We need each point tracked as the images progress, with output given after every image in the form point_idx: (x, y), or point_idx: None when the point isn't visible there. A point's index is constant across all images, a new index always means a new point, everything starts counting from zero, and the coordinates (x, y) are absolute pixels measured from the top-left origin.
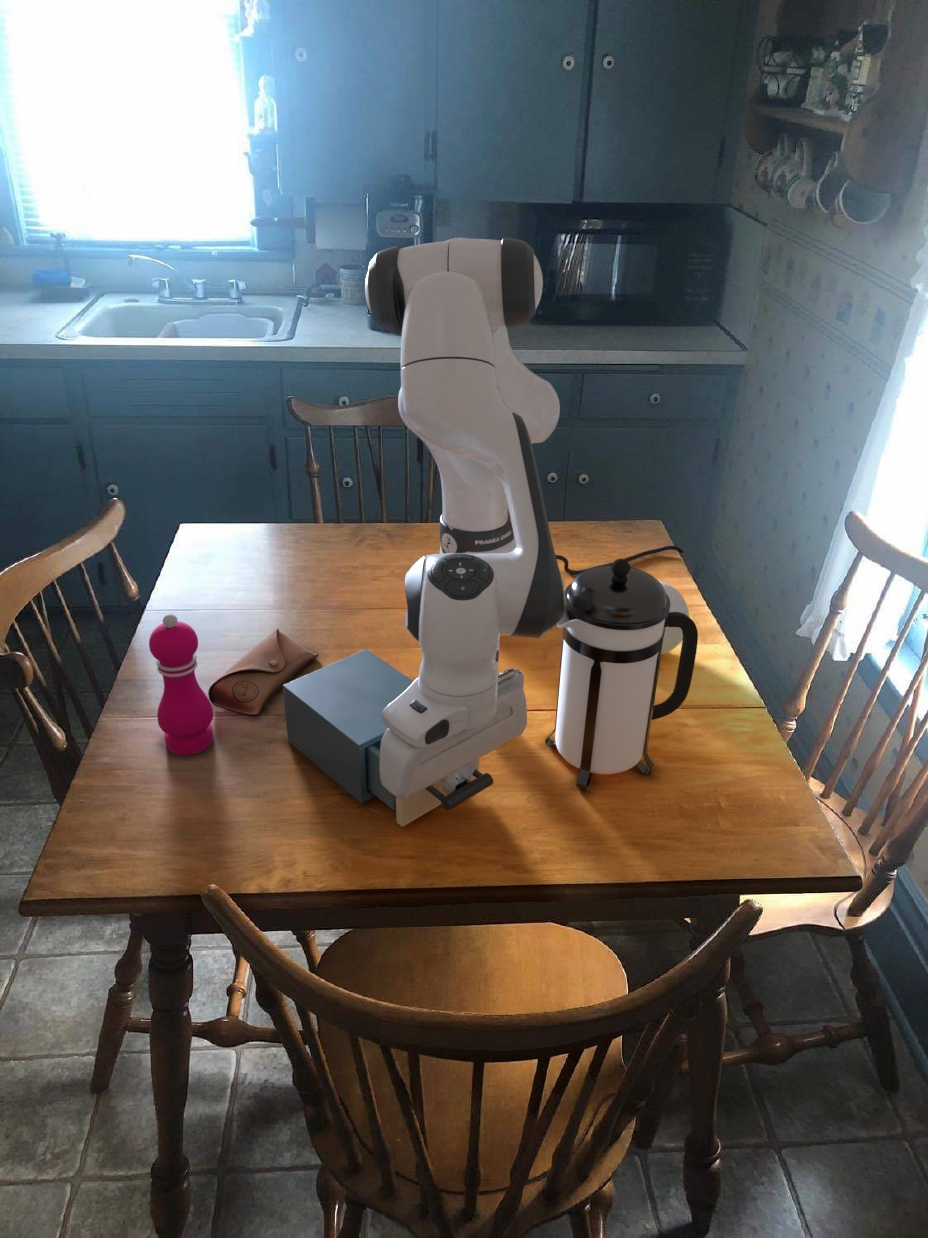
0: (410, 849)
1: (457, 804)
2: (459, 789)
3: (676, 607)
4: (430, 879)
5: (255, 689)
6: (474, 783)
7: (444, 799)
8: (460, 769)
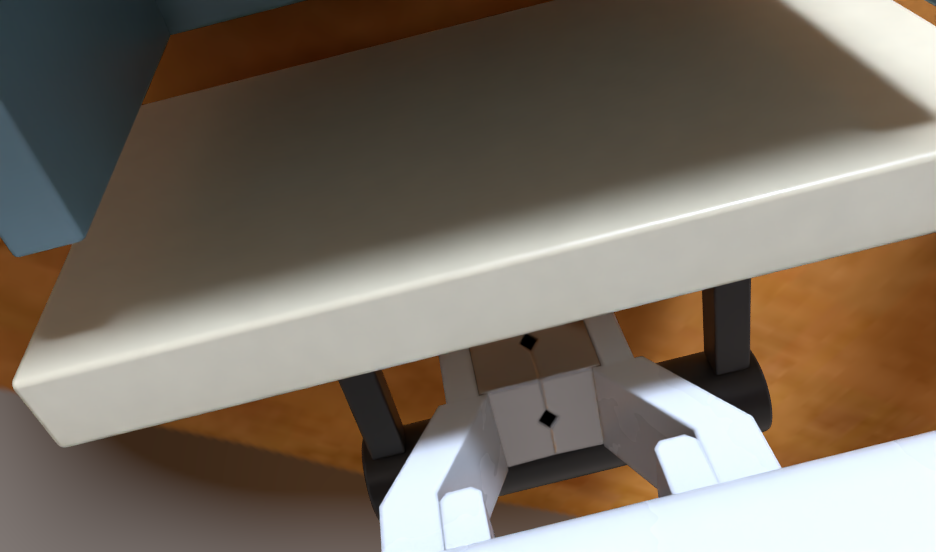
0: None
1: None
2: (509, 474)
3: None
4: (212, 418)
5: None
6: None
7: (372, 506)
8: (620, 406)
